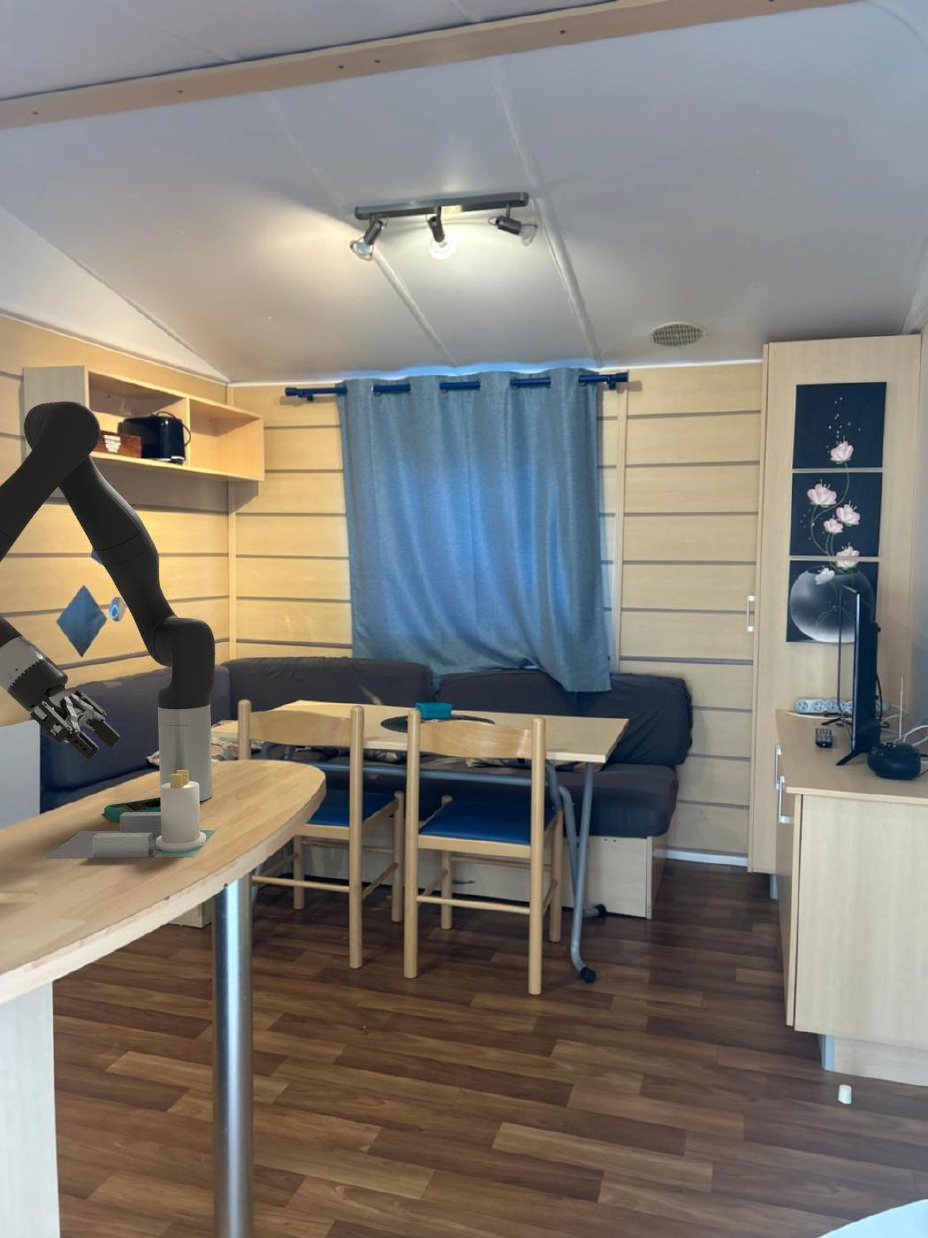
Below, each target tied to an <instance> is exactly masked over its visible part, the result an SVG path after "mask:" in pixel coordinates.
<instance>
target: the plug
mask: <svg viewBox="0 0 928 1238" xmlns="http://www.w3.org/2000/svg"><path fill="white" fill-rule="evenodd" d="M159 794H160V795H159V797H160V799H161V836H159V837H158V838H157V839H156V848H157V849H159V850H161V851H167V852H181V851H188V850H193V849H197V848H199V847H202V846H203V845H206V843H207V842H206V835H205V834H204V833H203V832H200V830H201V811H200V807H201V806H200V802H201V801H199V783H197V782H193V781H189V770H178V771H177V774H171V775H170V783H166V784H163V785H161V786H160V785H159ZM203 847H204V846H203ZM203 847H202V848H203Z"/></svg>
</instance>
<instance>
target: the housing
mask: <svg viewBox="0 0 928 1238" xmlns="http://www.w3.org/2000/svg"><path fill="white" fill-rule="evenodd" d="M200 832H203V833H204V834H205V835H206V843H207V842H208V841H209V840H210V839H211V838H212V836H214V834H215V833H216V832H217V830H216V829H202V830H201V829H200ZM159 836H161V812H124V813H123V814H122V815H120V822H119V830H82V831H81V830H80V831H79V832H78V833H76V834H75V835H74V836H72V837H71V838H69V839H68V840H67V841H65V842H64V843H63V844H61V845H60V846H59V847H57V848H56V849H55V850H53V851H52V852H51V853H50V854H48V855H47V856H45V857H44V859H122V858H123V859H128V858H129V859H130V858H131V859H132V858H133V859H135V858H137V859H138V858H139V859H140V858H142V859H144V858H145V859H146V858H147V859H149V858H194V857H195V856H196V855H198V853H199V852H200V850H201V849H202V848H203V847H204V845H203V846H202V847H199V848H197V849H193V850H188V851H181V852H167V851H161V850H159V849H157V848H156V839H157V838H158V837H159Z"/></svg>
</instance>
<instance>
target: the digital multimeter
mask: <svg viewBox="0 0 928 1238" xmlns="http://www.w3.org/2000/svg"><path fill="white" fill-rule="evenodd" d="M103 809H104V810H103V813H104V815H105V816H106V817H107V818H109V819H110V820H112V821H114V822H115V823H120V815H122V814H123V813H124V812H161V799H160V796H159V797H158V796H157V797H154V798H147V799H140V800H135V801H134V800H133V801H128V802H120V803H113V804H108V805H106V806H105V807H103Z"/></svg>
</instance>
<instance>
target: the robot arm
mask: <svg viewBox="0 0 928 1238" xmlns="http://www.w3.org/2000/svg"><path fill="white" fill-rule="evenodd" d="M100 424H101V423H100V422H99V419H98V417H97V415H96V414H95V413H94V411H93V410H92V409H91V408H89V407H88V406H86V405H85V404H82V403H80V402H76V401H69V400H68V401H66V400H65V401H64V400H63V401H52V402H43V403H40V404H38V405H34V406H33V407H32V408H30V409H29V411H28V412H27V414H26V416H25V418H24V422H23V432H24V437H25V439H26V443H27V444H28V447H29V448H30V450H31V451H30V452H29V454H28V455H27V457H26V458H25V459H24V460H23V462H22V463H21V464H20V466H19V467H18V468H17V469H16V470H15V471H14V472H13V473H12V474H11V475H10V476H9V477H8V478H7V479H6V480H5V481H4V482H3V483H1V484H0V563H2V561H3V560H4V558H5V557H6V555H8V553H9V551H10V550H11V548H12V547H13V546H14V544H15V543H16V541H17V540H18V538H19V537H20V536H21V534H22V532H23V531H24V530H25V528H26V527H27V526H28V524H29V523H30V521H31V520H32V519H33V518H34V516H35V515H36V513H37V512H38V511H39V509H41V507H43V505H44V504H45V502H47V500H48V499H49V498H50V497H51V495H52V494H53V493H54V492H55V491H56V490H57V488H58V489H59V490H60V491H61V493H62V495H63V496H64V498H65V499H66V502H67V504H68V505H69V507H70V509H71V511H72V513H73V514H74V517H75V518H76V520H77V521H78V523H79V525H80V527H81V528H82V531H83V532H84V534H85V535H86V537H87V539H88V541H89V543H90V544H91V548H92V549H93V550H94V552H95V554H96V555H97V558H98V559H99V561H100V563H101V564H102V565H103V567H104V569H105V570H106V572H107V573H108V575H109V577H110V578H111V580H112V582H113V584H114V586H115V587H116V589H117V591H118V593H119V595H120V596H121V598H122V599H123V602H124V604H126V606H127V608H128V610H129V612H130V614H131V616H132V619H133V620H134V623H135V626H136V627H137V630H138V633H139V635H140V637H141V639H142V642H143V643H144V646H145V648H146V650H147V652H148V654H149V655H150V657H151V658H152V659H153V660H154V661H155V662H156V663H157V664H159V665H161V666H163V667H166V668H167V667H168V668H171V680H170V683H169V684H168V685H167V686H166V687H164V688H161V689H160V690H159V691H158V692H157V718H158V719H157V721H158V752H159V753H158V757H159V758H158V759H159V787H160V786H161V785H163V784H166V783H170V775H171V774H177V771H178V770H189V781H193V782H197V783H199V801H200V802H203V801H206V800H209V799H210V798H212V797H213V762H212V761H213V760H212V754H213V753H212V723H211V722H212V721H211V719H212V718H211V695H212V693H213V689H214V685H215V677H216V676H215V674H216V673H215V671H216V641H215V636H214V632H213V630H212V628H211V626H210V625H209V624H208V623H207V622H205V621H204V620H202V619H199V618H195V617H193V618H192V617H179V616H177V614H176V613H175V612H174V609H173V608H171V606H170V604H169V601H168V600H167V599H166V596H165V595H164V593H163V590H162V587H161V584H160V582H161V581H160V562H159V553H158V549H157V546H156V544H155V542H154V540H153V539H152V537H151V535H150V533H149V531H148V530H147V528H146V526H145V524H144V522H143V520H142V518H141V517H140V516H139V514H138V513H137V512H136V510H135V509H134V508H133V507H132V506H131V504H129V503H128V501H127V500H126V499H125V498H123V496H122V495H121V494H120V493H119V492H118V491H117V490H116V489H115V488H114V487H113V486H112V485H111V484H110V483H109V482H108V481H107V479H105V477H104V475H102V473H101V472H100V471H99V469H98V466H97V465H96V463H95V462H94V459H93V458H92V456H91V454H92V452H93V451H94V450H95V449H96V447H97V446H98V444H99V441H100V439H101V438H100V437H101V426H100ZM68 681H69V677H68V674H66V672H64V671H63V670H62V669H61V668H60V667H59V666H58V665H57V664H56V663H55V662H54V661H53V660H51V658H50V657H49V656H48V655H46V654H45V653H44V652H43V651H42V650H41V649H40V648H39V647H38V646H37V645H36V644H34V643H33V642H31V641H30V640H28V639H27V638H26V637H25V636H24V635H22V633H21V632H19V630H17V629H16V628H15V627H14V625H12V624H11V623H10V622H9V621H7V620H6V618H4V617H3V616H2V615H0V687H1V688H2V689H3V690H4V691H5V692H7V693H8V694H9V696H10V697H12V698H13V699H14V700H15V701H16V702H17V703H19V705H20V706H22V707H23V709H25V711H26V712H29V714H30V716H31V718H32V719H33V720H34V721H36V723H37V724H38V725H40V726H41V728H42V729H43V730H45V732H46V733H48V735H50V736H51V737H52V738H53V740H54V741H55V742H57V743H62V742H65V743H66V744H71V746H73V748H75V749H76V750H77V751H78V752H79V753H80V754H82V756H84V758H86V759H87V760H90V759H93V757H95V756H96V755H97V754H98V753H99V752H100V750H101V749H100V746H99V745H97V744H96V742H94V741H93V740H92V739H91V738H90V737H89V736H88V735H87V734H86V733H85V732H84V731H83V730H82V731H81V728H80V727H85V728H87V729H89V730H91V731H93V733H94V734H95V735H96V736H97V737H98V738H99V739H100V740H101V741H102V742H103V743H105V744H106V746H108V747H109V748H113V747H114V746H115V745H117V743H119V742H120V741H121V737H122V736H121V735H120V734H119V733H118V732H117V731H116V730H115V729H114V728H113V727H112V726H111V725H110V724H109V723H108V722H106V721H105V720H106V718H105V717H106V716H107V712H106V711H105V710H104V709H103V708H101V706H99V705H98V704H97V703H96V702H95V701H94V700H92V699H91V698H90V697H89V696H88V694H86V693H85V692H84V691H83V690H82V689H80V688H77V689H76V690H75V691H74V692H73V693H72V692H70V691H69V690H67V689H66V685H67V683H68Z"/></svg>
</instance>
